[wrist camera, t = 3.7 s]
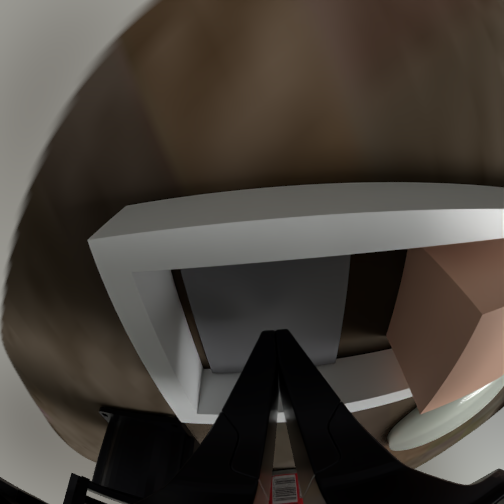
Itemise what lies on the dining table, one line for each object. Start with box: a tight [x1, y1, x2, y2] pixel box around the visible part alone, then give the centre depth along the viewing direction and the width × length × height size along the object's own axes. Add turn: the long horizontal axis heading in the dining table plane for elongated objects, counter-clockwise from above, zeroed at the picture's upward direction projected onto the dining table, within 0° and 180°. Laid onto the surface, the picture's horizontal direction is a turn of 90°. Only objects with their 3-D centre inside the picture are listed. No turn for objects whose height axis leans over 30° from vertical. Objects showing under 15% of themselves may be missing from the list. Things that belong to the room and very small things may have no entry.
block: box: [386, 238, 504, 414], centre depth 8 cm, size 5×5×4 cm
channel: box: [87, 182, 504, 424], centre depth 8 cm, size 22×9×2 cm, turn 96°
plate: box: [387, 374, 504, 451], centre depth 16 cm, size 14×14×1 cm
